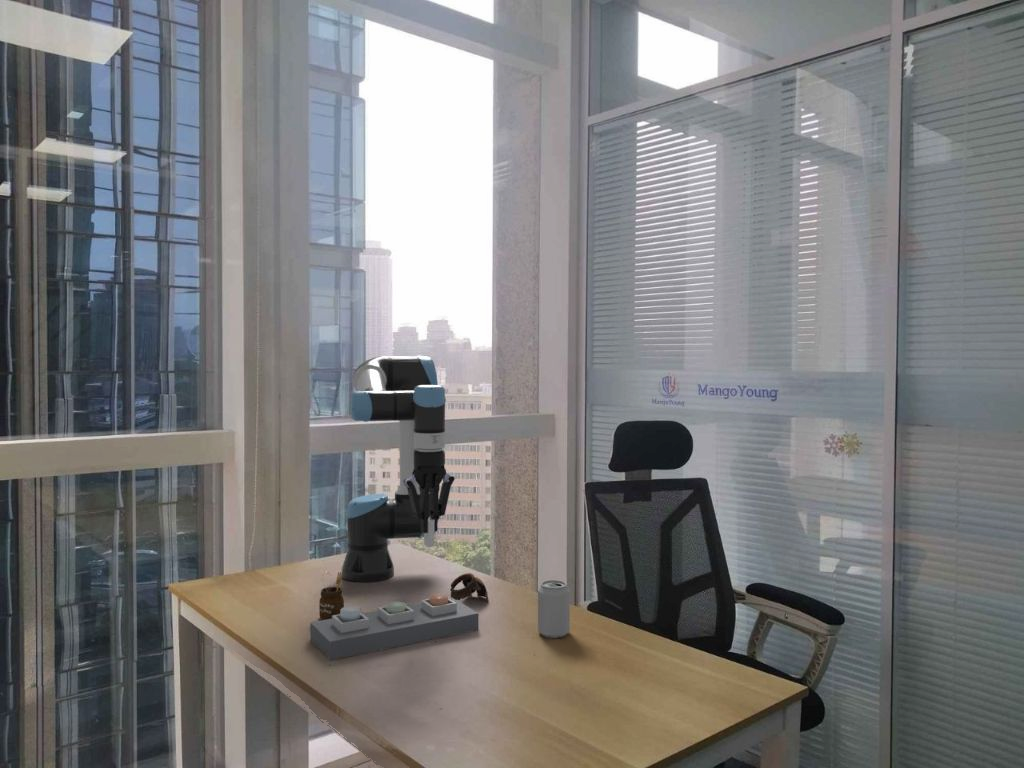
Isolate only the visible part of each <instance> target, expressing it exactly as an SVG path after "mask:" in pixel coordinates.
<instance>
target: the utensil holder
mask: <svg viewBox="0 0 1024 768" xmlns="http://www.w3.org/2000/svg"><path fill="white" fill-rule="evenodd" d="M325 575H328V576H329V578H328V576H325ZM342 575H343V571H342V570H341V571H340V572H337V577H336V581H335V585H337V586H333V585H332V584H330V586H329V583H327V586H324V587H323V588H322V589H321V590H320V597H319V598H320V599H319V601H318V602H319V605H318V607H319V608H318V609H319V612H318V613H319V619H320V620H327V619H332V616H333V615H339V614H340V609H342V608H344V607H345V600H344V596H343V588H341V587H340V584H341V583H342V580H343V577H342ZM321 576H322V577H324V576H325V578H326V581H328V579H329V580H330V583H332V575H331V574H330V572H328V571H326V572H324V574H322V575H321ZM325 578H322V579H321V580H322V583H323V584H325Z"/></svg>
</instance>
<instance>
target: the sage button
mask: <svg viewBox="0 0 1024 768" xmlns="http://www.w3.org/2000/svg"><path fill="white" fill-rule="evenodd" d="M385 606H386V612H387V613H389V614H394V613H400V612H405V611H406V603H405V602H402V601H391V602H388V603H386V605H385Z"/></svg>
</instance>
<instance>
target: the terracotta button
mask: <svg viewBox="0 0 1024 768" xmlns="http://www.w3.org/2000/svg"><path fill="white" fill-rule="evenodd" d="M448 598H449V596H448V595H446V594H432V595H430V596H429V599H430V604H431V605H432V606H439V605H444V604H448Z"/></svg>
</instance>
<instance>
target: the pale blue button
mask: <svg viewBox="0 0 1024 768" xmlns="http://www.w3.org/2000/svg"><path fill="white" fill-rule="evenodd" d="M360 612H361V607H359V606H355V605H353V606H344V608H342V609H340V619H341V620H342V621H347V622H350V621H355V620H359V619H360Z"/></svg>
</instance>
